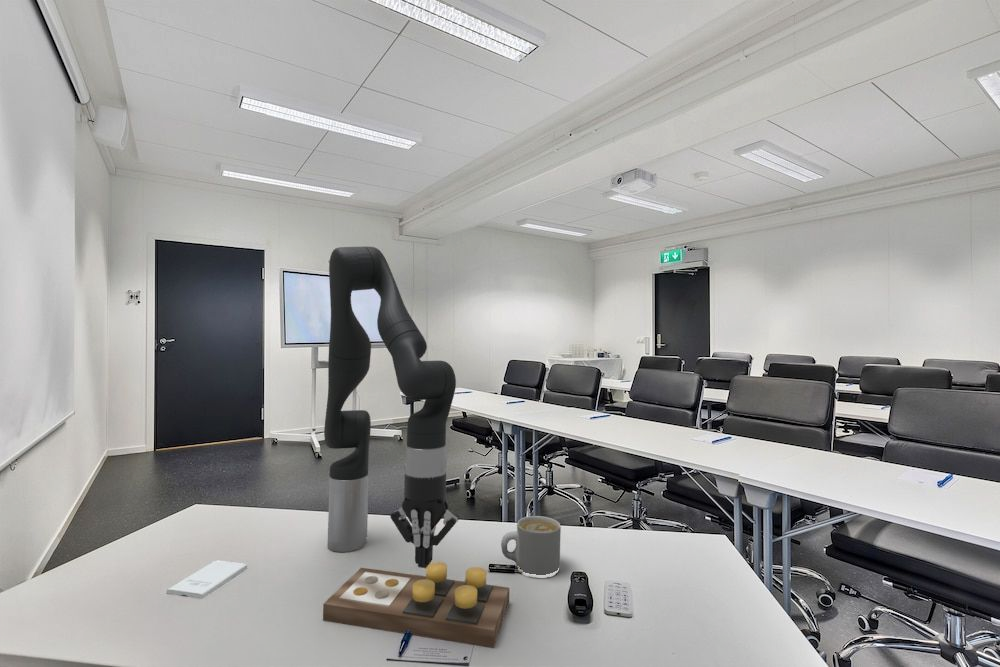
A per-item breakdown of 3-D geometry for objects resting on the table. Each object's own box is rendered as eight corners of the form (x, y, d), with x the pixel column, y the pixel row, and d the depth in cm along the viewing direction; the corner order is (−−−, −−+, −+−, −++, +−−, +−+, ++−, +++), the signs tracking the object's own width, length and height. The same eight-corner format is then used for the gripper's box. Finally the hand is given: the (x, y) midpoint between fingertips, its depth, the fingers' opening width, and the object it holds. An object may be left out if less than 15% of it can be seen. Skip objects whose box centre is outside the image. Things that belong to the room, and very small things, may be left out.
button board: (360, 581, 100) (361, 565, 100) (509, 602, 94) (509, 585, 94) (322, 620, 86) (323, 601, 86) (493, 648, 80) (494, 627, 80)
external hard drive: (246, 571, 105) (201, 601, 92) (214, 566, 106) (166, 596, 94) (247, 563, 105) (202, 593, 92) (214, 559, 106) (166, 588, 94)
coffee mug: (558, 558, 113) (559, 516, 113) (561, 580, 103) (562, 534, 103) (502, 555, 114) (503, 514, 114) (499, 576, 104) (500, 531, 104)
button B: (417, 588, 89) (417, 578, 89) (437, 591, 88) (437, 580, 88) (409, 600, 85) (409, 589, 85) (430, 603, 84) (430, 592, 84)
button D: (458, 594, 87) (458, 583, 87) (479, 597, 86) (479, 586, 86) (451, 606, 83) (452, 595, 83) (473, 610, 82) (474, 598, 82)
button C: (468, 576, 94) (468, 566, 94) (488, 578, 93) (488, 568, 93) (462, 586, 90) (463, 575, 90) (483, 589, 89) (483, 578, 89)
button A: (430, 571, 95) (430, 561, 95) (449, 573, 95) (449, 563, 95) (423, 580, 92) (423, 570, 92) (442, 583, 91) (443, 573, 91)
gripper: (466, 467, 89) (464, 561, 88) (400, 462, 91) (398, 552, 91) (454, 478, 81) (451, 580, 81) (382, 472, 84) (380, 571, 84)
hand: (423, 565), depth 86 cm, fingers closed
